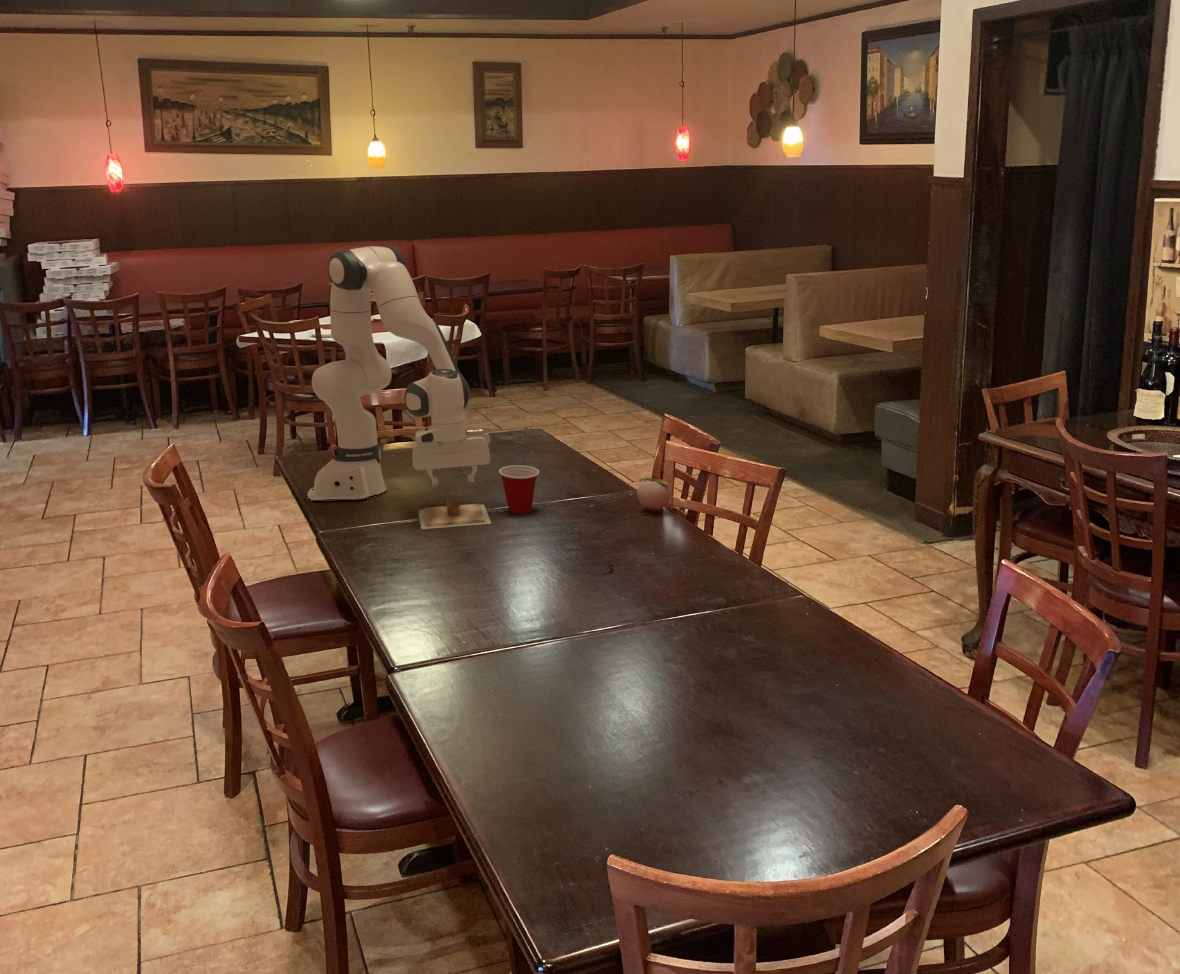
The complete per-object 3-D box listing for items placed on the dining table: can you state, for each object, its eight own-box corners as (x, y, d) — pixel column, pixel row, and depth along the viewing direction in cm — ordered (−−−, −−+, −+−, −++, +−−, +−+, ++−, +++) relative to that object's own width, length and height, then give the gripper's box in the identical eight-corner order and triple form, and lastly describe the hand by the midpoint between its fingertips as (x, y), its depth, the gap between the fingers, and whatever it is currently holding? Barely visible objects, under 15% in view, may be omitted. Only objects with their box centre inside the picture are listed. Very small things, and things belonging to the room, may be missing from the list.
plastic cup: (523, 521, 290) (521, 476, 287) (492, 514, 296) (490, 471, 293) (549, 511, 298) (547, 467, 295) (518, 504, 305) (517, 462, 302)
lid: (426, 526, 286) (425, 509, 284) (423, 510, 300) (422, 493, 299) (484, 522, 288) (483, 504, 287) (479, 506, 303) (478, 489, 301)
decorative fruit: (631, 513, 294) (630, 477, 291) (644, 505, 301) (643, 470, 298) (663, 518, 290) (663, 481, 287) (676, 509, 297) (675, 473, 294)
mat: (421, 531, 284) (421, 529, 284) (418, 511, 301) (418, 509, 301) (491, 525, 287) (491, 523, 287) (484, 506, 304) (484, 504, 304)
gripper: (487, 426, 293) (491, 477, 296) (409, 432, 289) (414, 484, 293) (490, 430, 287) (494, 482, 290) (410, 437, 283) (415, 489, 287)
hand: (453, 483), depth 291 cm, fingers open, 8 cm apart
